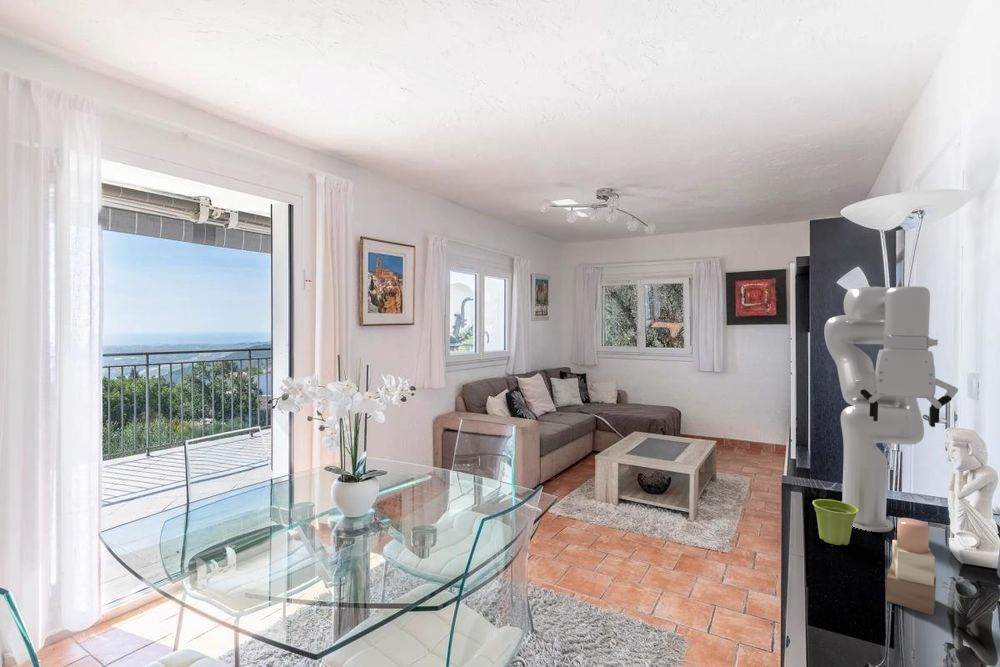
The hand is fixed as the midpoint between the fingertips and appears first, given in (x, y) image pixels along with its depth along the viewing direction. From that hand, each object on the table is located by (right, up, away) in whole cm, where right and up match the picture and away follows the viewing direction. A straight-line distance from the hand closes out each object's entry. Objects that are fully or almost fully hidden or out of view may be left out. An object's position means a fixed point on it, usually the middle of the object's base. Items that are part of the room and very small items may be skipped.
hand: (902, 423), depth 110 cm
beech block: (-7, -28, -11) cm, 31 cm away
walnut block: (-7, -33, -11) cm, 35 cm away
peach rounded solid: (-7, -22, -11) cm, 26 cm away
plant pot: (-5, -32, +16) cm, 36 cm away
